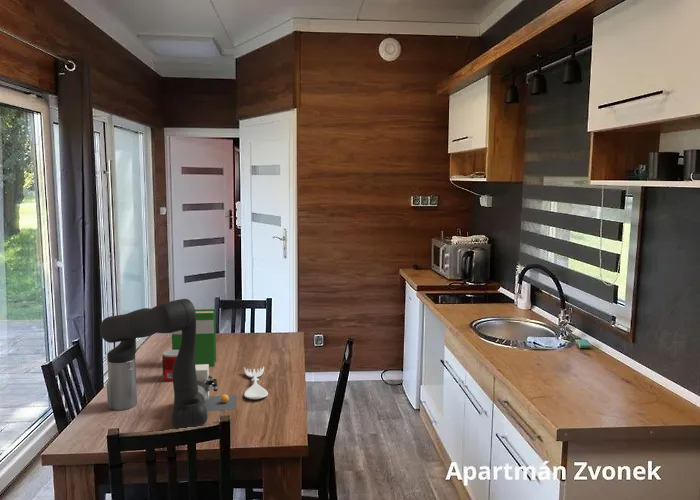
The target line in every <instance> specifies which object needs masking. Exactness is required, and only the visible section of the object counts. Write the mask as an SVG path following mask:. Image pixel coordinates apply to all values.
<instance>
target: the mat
mask: <svg viewBox="0 0 700 500" xmlns="http://www.w3.org/2000/svg"><path fill="white" fill-rule="evenodd" d="M204 405H205V407H206V410H207V412H213V411H214V412H215V411H218V412H219V411H232V410H236V409H237V408H236V407H237V394H231V395H230V394H229V395H228V394H222V395H214V396H211V395H209V398H208V400H206V401H205V404H204Z"/></svg>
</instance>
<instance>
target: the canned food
mask: <svg viewBox="0 0 700 500" xmlns="http://www.w3.org/2000/svg"><path fill="white" fill-rule="evenodd" d="M178 352H179V350H172V349H170V350H169V349H168V350H165V351H164V352H162V353H161V354H162V355H161V356H162V378H163V380H164V381H166V382H173V379H172V371H173V366H174V363H175V360H176V357H177V355H178Z"/></svg>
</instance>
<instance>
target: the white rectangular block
mask: <svg viewBox="0 0 700 500" xmlns="http://www.w3.org/2000/svg"><path fill="white" fill-rule="evenodd" d="M195 366H196V376H197V381H201V382H202V381H203V380H208V376H210V367H209V364H201V365H195ZM209 397H210V390H209V391H208V393H207V399H206V400H208V398H209Z"/></svg>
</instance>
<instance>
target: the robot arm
mask: <svg viewBox="0 0 700 500" xmlns="http://www.w3.org/2000/svg"><path fill="white" fill-rule="evenodd" d="M195 309H196V308H195V305H194V304H193V302H192V301H191V300H190V299H188V298H180V299H175V300H171V301H165V302H162V303H160V304H157V305H156V306H153V307H152V308H149V307H147V308H145V307H144V308H139V309H136V310H133V311H130V312H128V313H124V314H123V313H122V314H119V315H118V314H117V315H112V316H108V317H106V318H104V319H102V321H101V322H100V326H99V333H100V336H101V338H102V339H103V340H104V342H107V343H109V344H112V343H113V344H114V343H118V344H117V346H115V347H114V348H112V349H111V350H109V351H108V352H107V355H106V356H107V357H106V358H107V360H106V361H107V379H108V381H107V383H106V392H107V393H106V394H107V396H106V397H107V409H108V410H109V409H110V410H114V411H123V410H129V409H131V408H133V407H135V406H137V405H138V392H137V390H138V389H137V368H136V367H137V366H136V352H137V339H139V338H147V337H151V336H153V335H155V334H172V332H176V331H180V330H182V342H181V346H180V349H179V352H178V355H177V357H176V360H175V363H174V366H173V371H172V379H173V381H172V384H173V385H172V386H173V396H174V400H173V408H172V413H171V425H172V426H173V428H174V429H175V430H177V429H179V428H187V427H197V426H201V427H202V426H205V425H206V423H207V421H208V411H207V410H206V407H205V405H204V404H205V401H206V399H207V393H208V391H209V392H210V390H212V391H214V392H217V391H218V379H217V378H213V376H211V375H209V376H208V380H203V381H202V382H201V381H197V376H196V366H195V348H196V312H195ZM119 342H120V343H119ZM197 428H198V427H197Z"/></svg>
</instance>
